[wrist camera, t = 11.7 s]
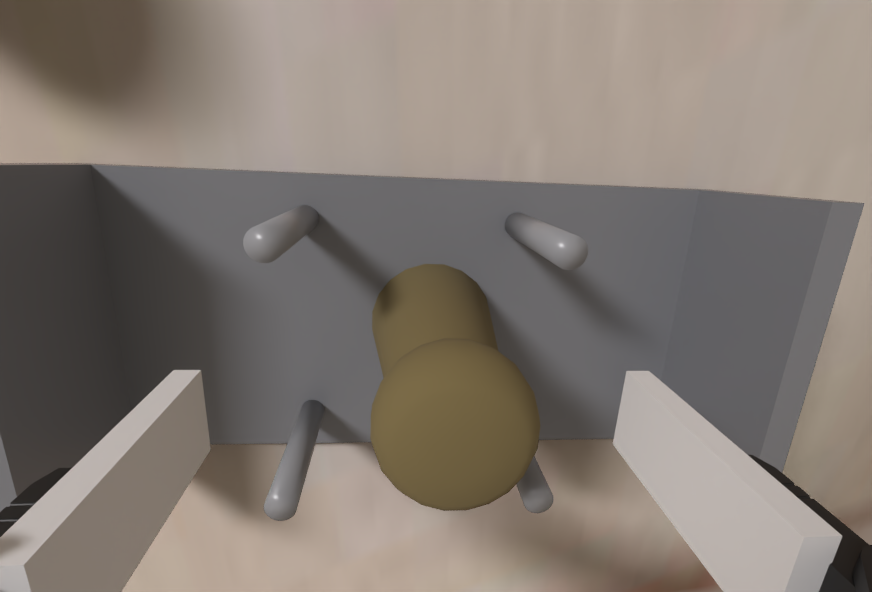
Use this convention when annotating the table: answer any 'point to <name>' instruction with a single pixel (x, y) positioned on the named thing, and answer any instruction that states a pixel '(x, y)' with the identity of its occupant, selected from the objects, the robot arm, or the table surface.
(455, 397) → the cork
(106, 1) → the table surface
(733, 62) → the table surface
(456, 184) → the rack
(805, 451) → the table surface
